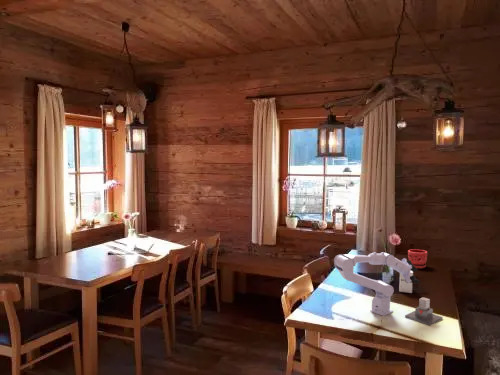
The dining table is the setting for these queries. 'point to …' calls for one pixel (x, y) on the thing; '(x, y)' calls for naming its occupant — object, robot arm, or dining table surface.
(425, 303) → the column
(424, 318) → the stand base
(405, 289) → the supplement box
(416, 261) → the plant pot
